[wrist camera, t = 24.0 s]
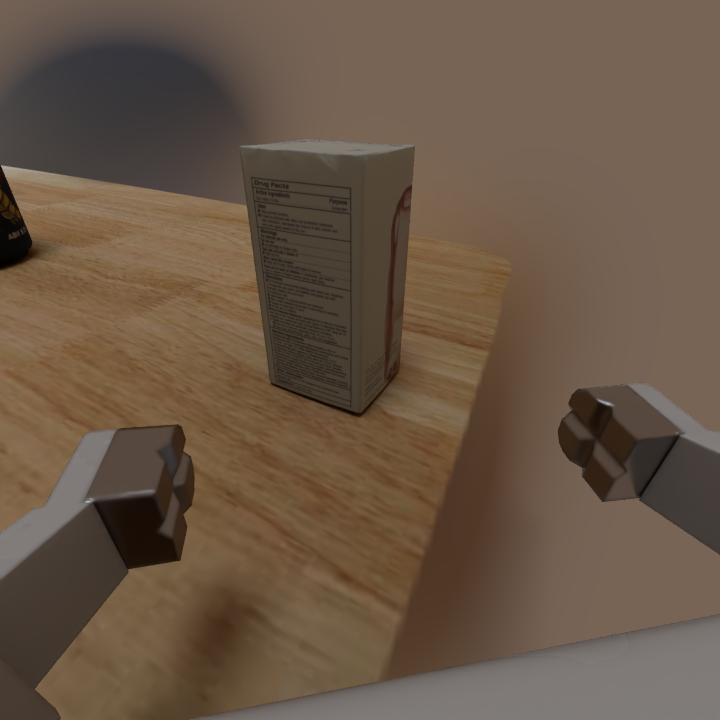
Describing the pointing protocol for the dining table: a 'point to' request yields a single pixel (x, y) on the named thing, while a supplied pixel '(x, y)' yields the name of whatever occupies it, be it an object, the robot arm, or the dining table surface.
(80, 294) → the dining table surface
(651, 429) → the robot arm
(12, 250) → the beverage can
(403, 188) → the white carton box
